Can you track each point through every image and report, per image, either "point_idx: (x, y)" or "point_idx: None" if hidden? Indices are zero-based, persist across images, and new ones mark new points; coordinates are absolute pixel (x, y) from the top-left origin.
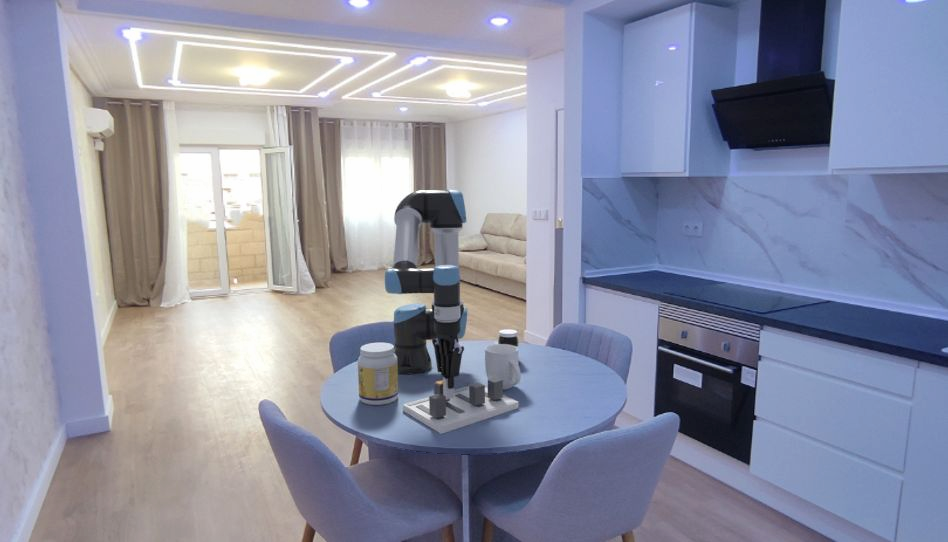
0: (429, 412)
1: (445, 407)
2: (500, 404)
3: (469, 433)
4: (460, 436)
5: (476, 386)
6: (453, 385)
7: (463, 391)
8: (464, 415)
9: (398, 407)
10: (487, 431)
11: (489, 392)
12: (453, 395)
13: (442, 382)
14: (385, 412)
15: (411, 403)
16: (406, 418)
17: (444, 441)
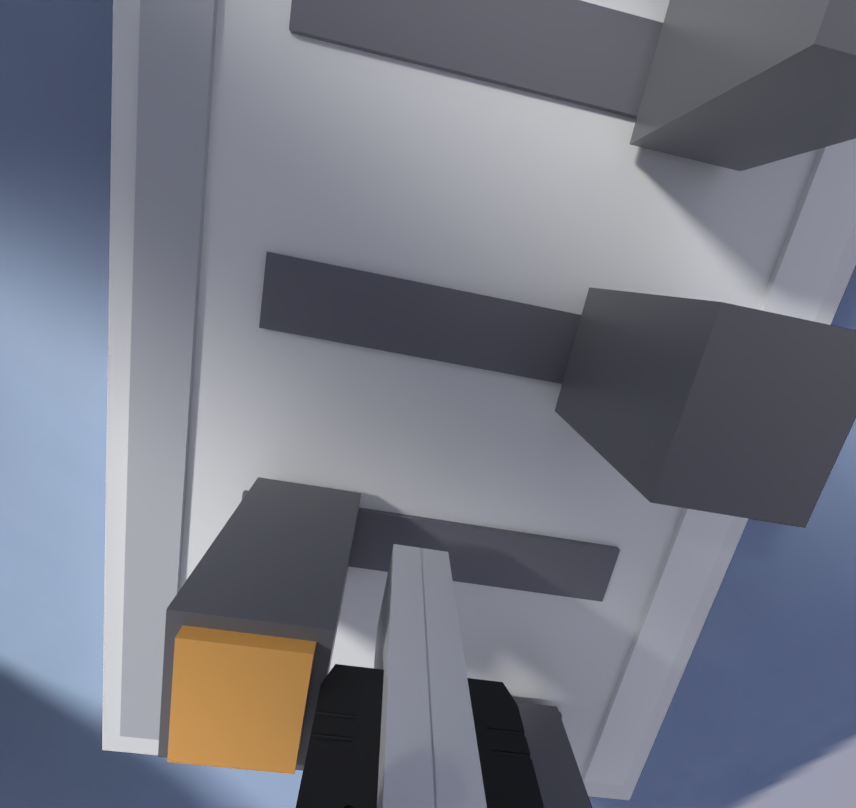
0: None
1: (580, 779)
2: (837, 206)
3: (752, 650)
4: (725, 705)
5: (788, 474)
6: (518, 731)
7: (233, 148)
8: (668, 610)
9: (48, 684)
10: (844, 563)
11: (706, 133)
12: (449, 569)
13: (261, 713)
14: (72, 779)
15: (142, 713)
16: None
17: (681, 789)
